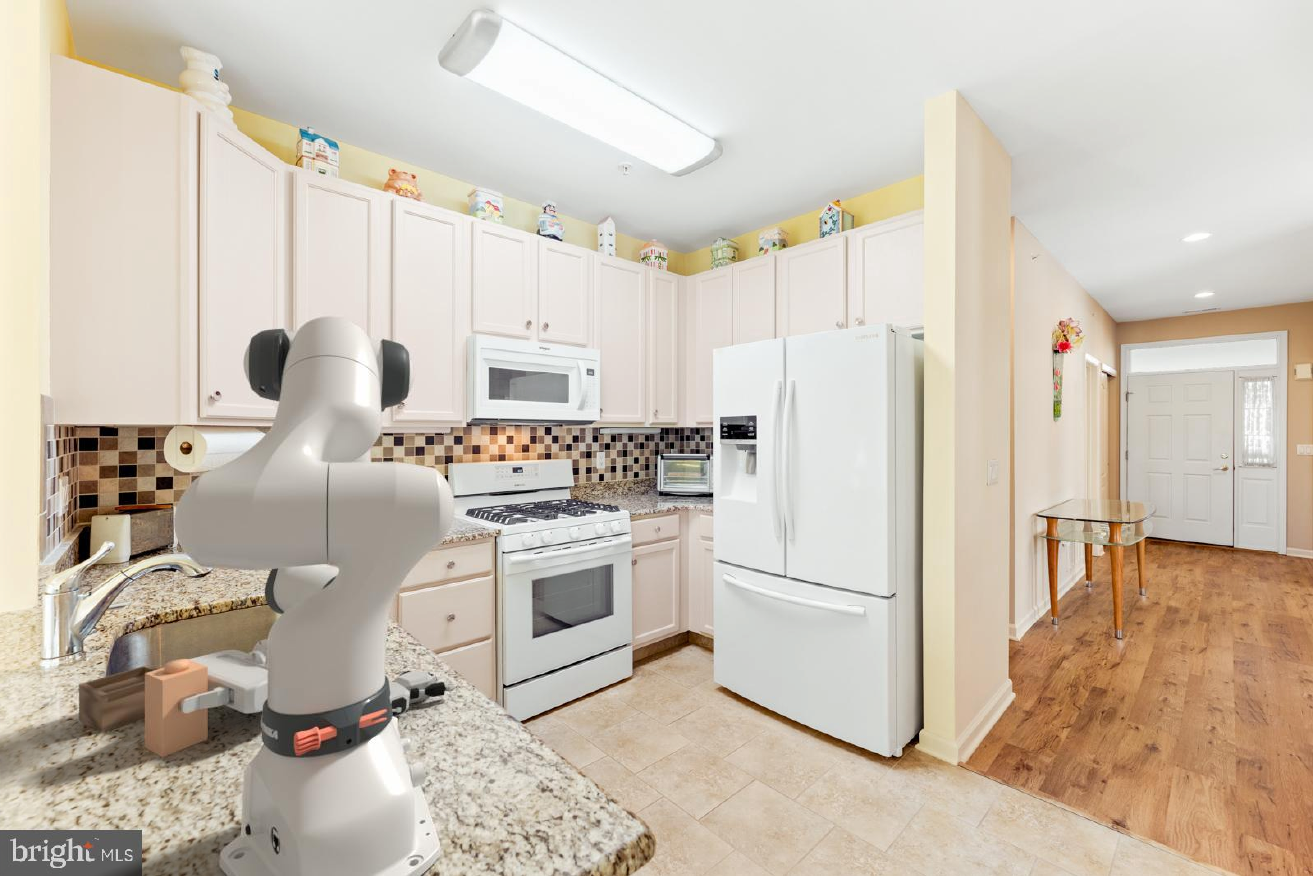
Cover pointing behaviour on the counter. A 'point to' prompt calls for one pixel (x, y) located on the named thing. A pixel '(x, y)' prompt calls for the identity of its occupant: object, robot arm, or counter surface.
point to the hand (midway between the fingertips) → (168, 701)
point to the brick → (174, 707)
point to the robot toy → (415, 689)
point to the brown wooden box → (114, 699)
